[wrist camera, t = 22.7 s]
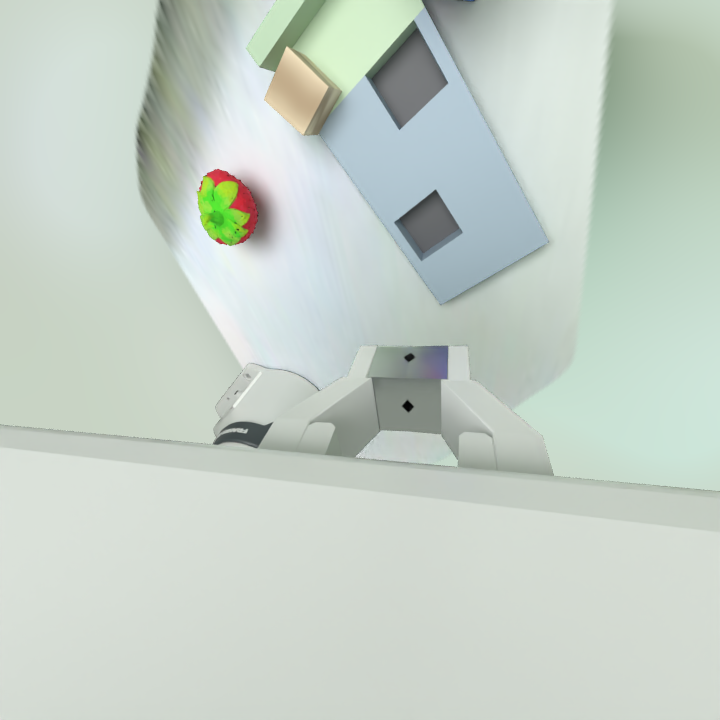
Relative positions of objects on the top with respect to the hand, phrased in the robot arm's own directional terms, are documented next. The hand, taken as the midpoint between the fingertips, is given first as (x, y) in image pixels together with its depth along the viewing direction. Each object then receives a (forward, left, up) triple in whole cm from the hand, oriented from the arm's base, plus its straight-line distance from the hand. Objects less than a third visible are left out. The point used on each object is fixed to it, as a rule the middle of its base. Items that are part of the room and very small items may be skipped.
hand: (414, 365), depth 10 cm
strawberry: (-18, +13, -31) cm, 38 cm away
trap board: (0, +5, -31) cm, 31 cm away
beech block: (-5, +14, -28) cm, 32 cm away
